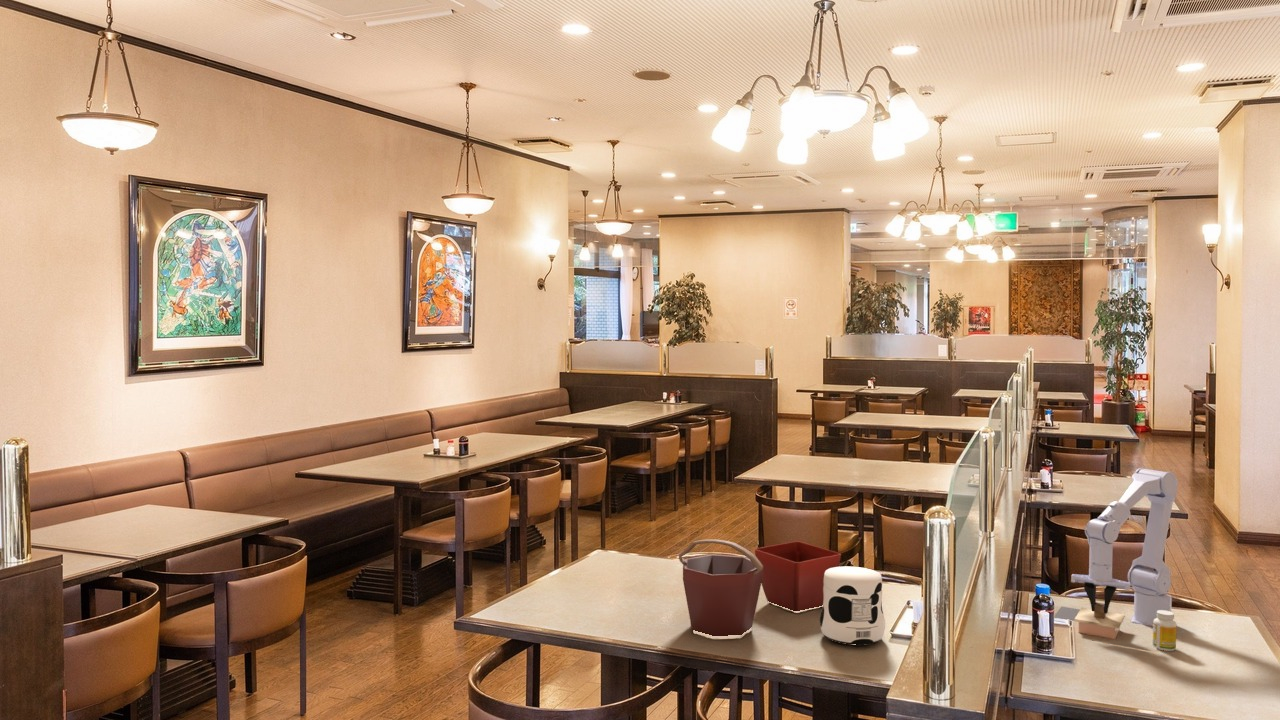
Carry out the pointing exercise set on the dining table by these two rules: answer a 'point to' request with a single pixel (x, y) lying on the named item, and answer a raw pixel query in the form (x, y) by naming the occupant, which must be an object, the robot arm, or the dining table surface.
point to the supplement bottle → (1164, 631)
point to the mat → (1067, 613)
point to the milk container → (852, 606)
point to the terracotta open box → (1098, 630)
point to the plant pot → (795, 573)
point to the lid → (1100, 617)
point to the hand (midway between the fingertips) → (1099, 611)
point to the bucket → (721, 589)
